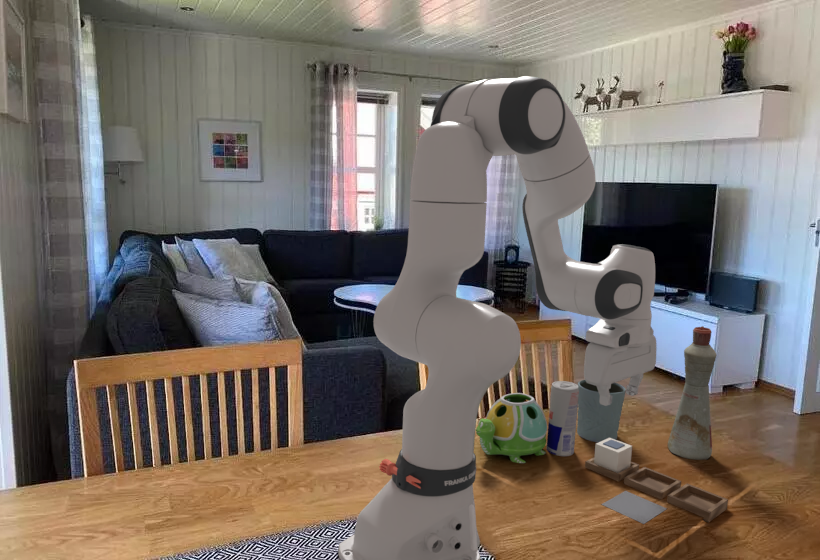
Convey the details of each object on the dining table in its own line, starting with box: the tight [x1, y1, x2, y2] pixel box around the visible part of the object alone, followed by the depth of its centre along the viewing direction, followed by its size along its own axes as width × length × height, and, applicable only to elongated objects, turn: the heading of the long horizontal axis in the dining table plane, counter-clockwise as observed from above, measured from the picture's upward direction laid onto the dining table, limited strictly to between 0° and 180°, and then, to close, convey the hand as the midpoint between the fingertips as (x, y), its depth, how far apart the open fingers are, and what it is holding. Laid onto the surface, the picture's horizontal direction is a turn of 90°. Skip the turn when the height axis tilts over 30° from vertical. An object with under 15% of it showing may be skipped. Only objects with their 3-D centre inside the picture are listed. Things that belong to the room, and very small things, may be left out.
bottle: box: [667, 325, 717, 461], centre depth 133 cm, size 9×9×28 cm
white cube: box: [593, 438, 633, 473], centre depth 125 cm, size 5×5×5 cm
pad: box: [601, 490, 668, 525], centre depth 111 cm, size 8×8×1 cm
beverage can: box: [546, 380, 579, 457], centre depth 132 cm, size 6×6×15 cm
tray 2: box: [623, 466, 682, 500], centre depth 119 cm, size 7×7×2 cm
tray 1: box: [584, 457, 640, 482], centre depth 125 cm, size 7×7×2 cm
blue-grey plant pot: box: [576, 379, 627, 443], centre depth 141 cm, size 10×10×12 cm
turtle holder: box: [475, 392, 548, 464], centre depth 130 cm, size 12×18×12 cm
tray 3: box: [666, 483, 729, 523], centre depth 113 cm, size 7×7×2 cm
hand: (618, 399), depth 123 cm, fingers open, 8 cm apart
